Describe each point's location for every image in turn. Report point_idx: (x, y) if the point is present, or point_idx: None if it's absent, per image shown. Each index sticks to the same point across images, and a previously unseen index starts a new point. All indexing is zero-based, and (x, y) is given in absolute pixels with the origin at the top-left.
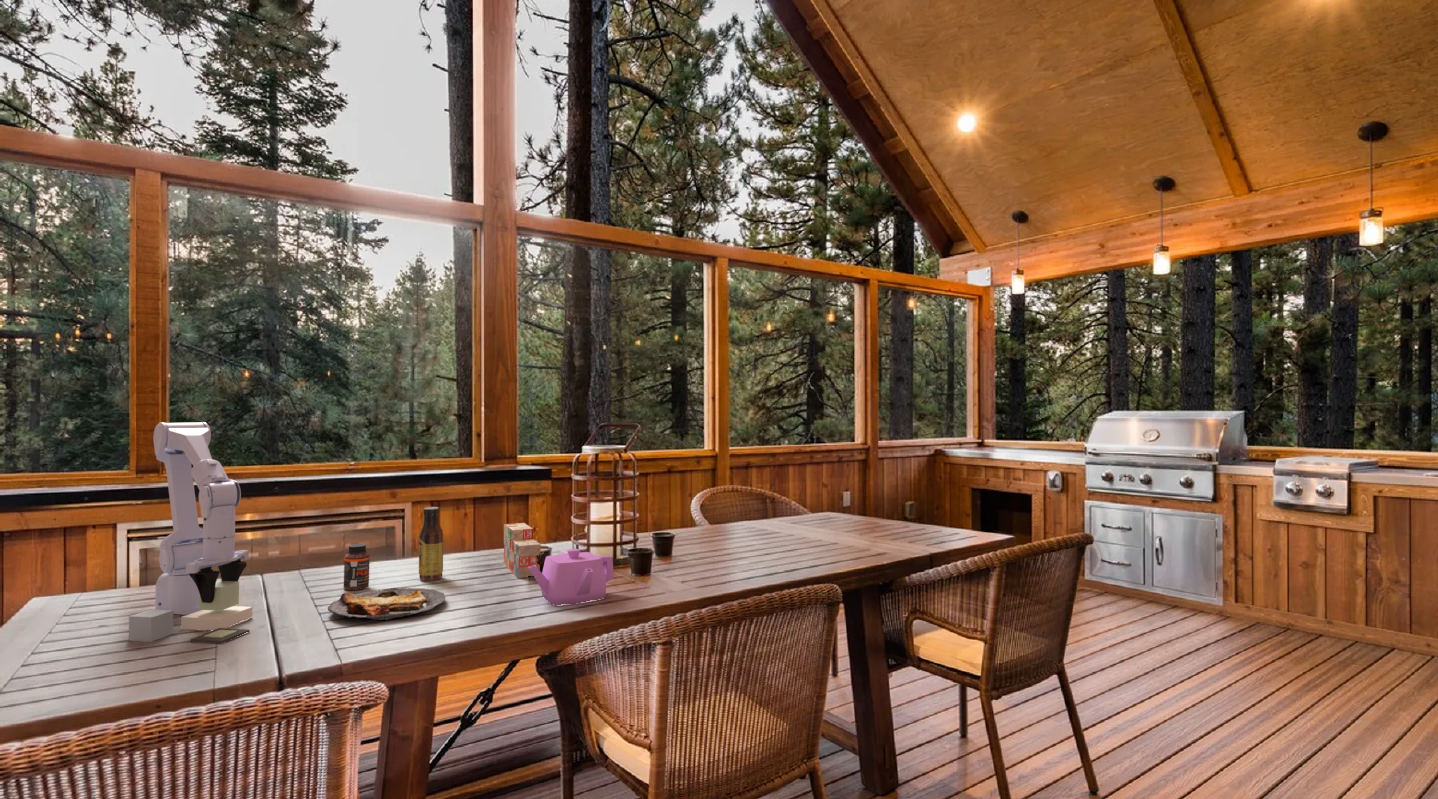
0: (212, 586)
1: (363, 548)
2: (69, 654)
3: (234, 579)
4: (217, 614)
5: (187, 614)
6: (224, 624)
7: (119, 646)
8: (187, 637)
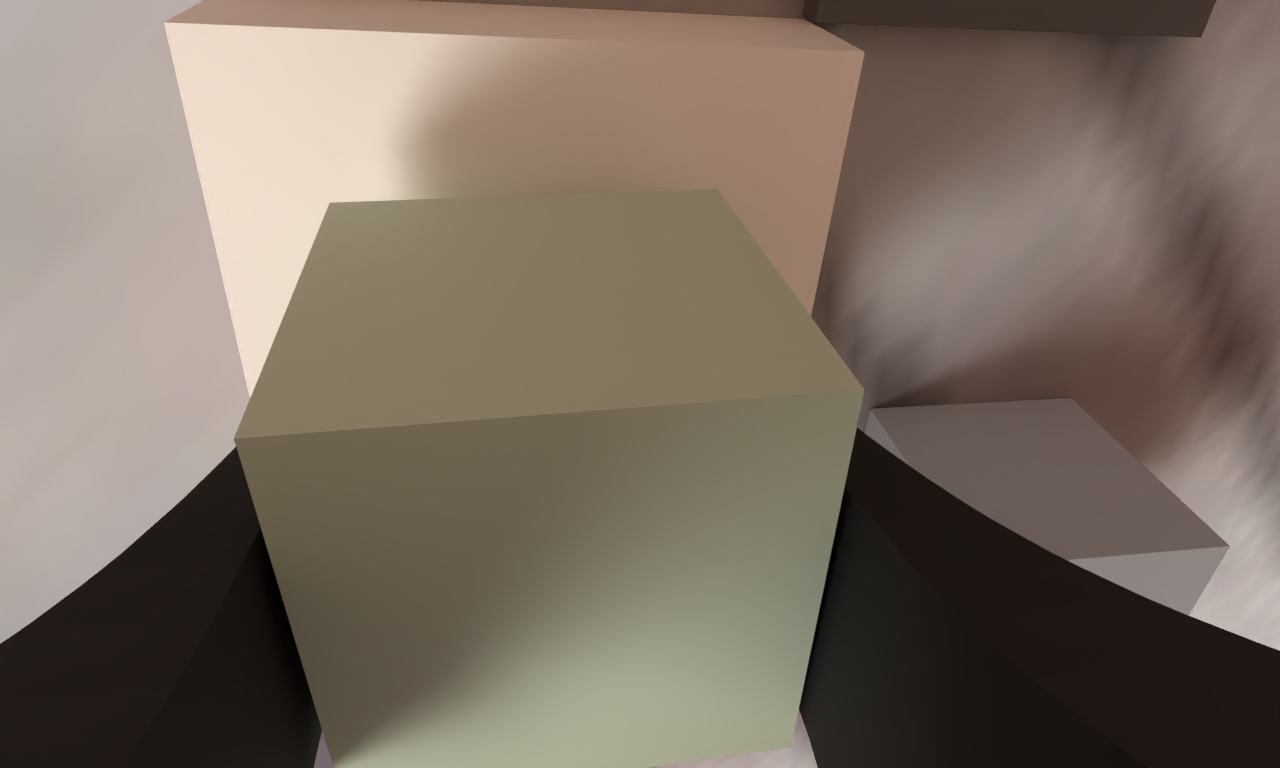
0: (961, 520)
1: None
2: (1224, 618)
3: (238, 592)
4: None
5: None
6: (735, 28)
7: None
8: (999, 196)
